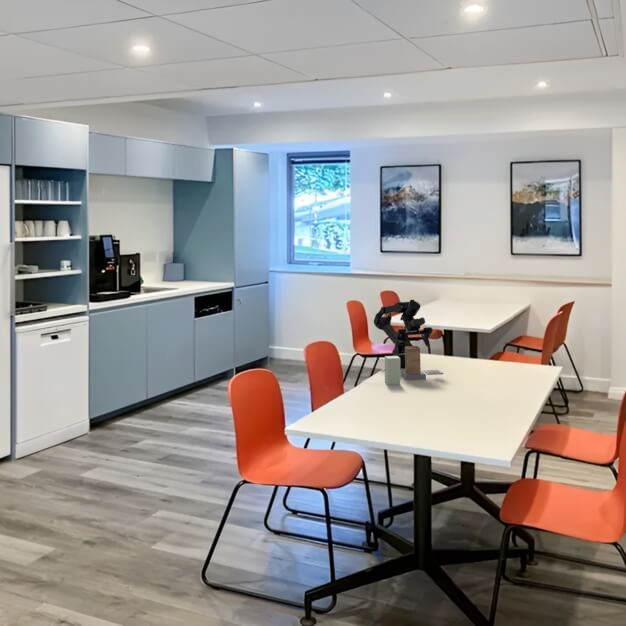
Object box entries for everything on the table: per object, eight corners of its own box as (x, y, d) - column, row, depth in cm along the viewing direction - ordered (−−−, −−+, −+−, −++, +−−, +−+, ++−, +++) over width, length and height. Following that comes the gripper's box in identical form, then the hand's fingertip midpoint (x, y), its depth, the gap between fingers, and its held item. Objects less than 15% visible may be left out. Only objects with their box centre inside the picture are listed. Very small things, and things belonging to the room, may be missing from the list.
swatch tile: (423, 371, 379) (423, 369, 379) (438, 370, 380) (438, 369, 380) (427, 374, 371) (427, 373, 371) (443, 373, 372) (443, 372, 372)
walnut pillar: (405, 371, 366) (404, 346, 365) (417, 370, 367) (416, 345, 365) (408, 374, 360) (407, 348, 359) (420, 373, 361) (420, 347, 359)
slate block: (401, 377, 369) (401, 371, 368) (420, 376, 370) (421, 370, 369) (405, 381, 359) (405, 375, 358) (425, 380, 360) (426, 374, 359)
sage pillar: (384, 382, 354) (384, 356, 353) (397, 381, 355) (397, 355, 354) (387, 384, 348) (387, 358, 347) (400, 384, 349) (400, 358, 348)
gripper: (397, 313, 372) (407, 338, 363) (431, 311, 378) (441, 336, 369) (391, 326, 380) (400, 351, 371) (423, 324, 386) (434, 349, 377)
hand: (419, 346), depth 372 cm, fingers open, 9 cm apart
